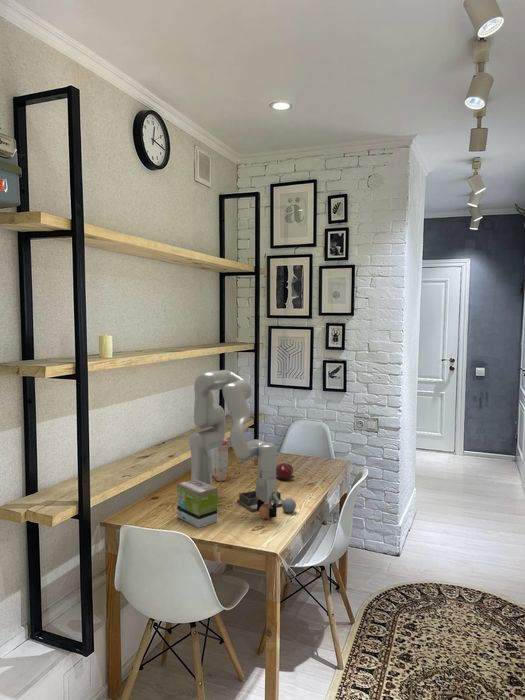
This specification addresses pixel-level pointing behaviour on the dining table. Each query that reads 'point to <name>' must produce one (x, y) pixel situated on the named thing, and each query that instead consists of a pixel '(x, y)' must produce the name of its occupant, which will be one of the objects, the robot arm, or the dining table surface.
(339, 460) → the dining table surface
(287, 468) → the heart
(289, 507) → the slate ball
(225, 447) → the cracker box
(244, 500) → the grey divided tray
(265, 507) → the terracotta ball
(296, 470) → the dining table surface
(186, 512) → the tea box
